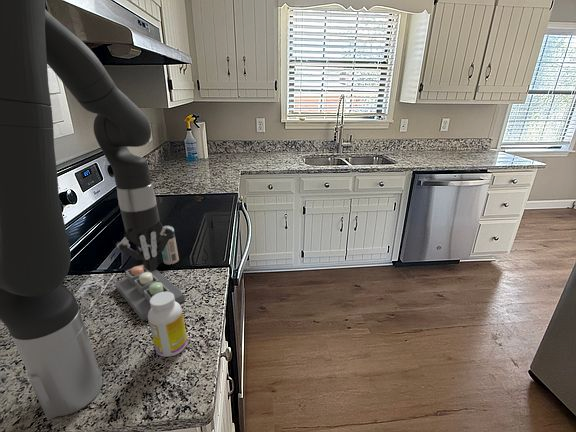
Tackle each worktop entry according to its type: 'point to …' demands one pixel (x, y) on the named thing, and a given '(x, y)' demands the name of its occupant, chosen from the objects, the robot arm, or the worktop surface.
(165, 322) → the supplement bottle
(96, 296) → the worktop surface
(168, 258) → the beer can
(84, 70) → the robot arm
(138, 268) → the terracotta button
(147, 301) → the grey boxy piece
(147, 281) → the cream button
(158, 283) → the sage button
